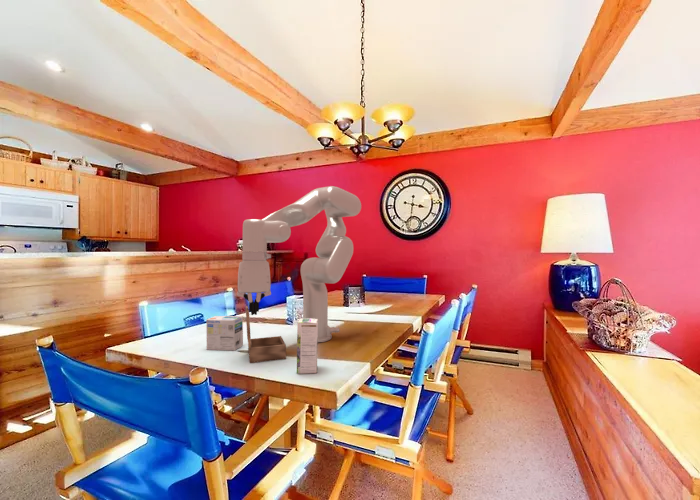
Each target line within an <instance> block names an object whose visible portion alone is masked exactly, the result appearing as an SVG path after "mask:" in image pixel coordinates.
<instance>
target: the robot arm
mask: <svg viewBox="0 0 700 500" xmlns="http://www.w3.org/2000/svg"><path fill="white" fill-rule="evenodd" d="M361 210H362V203H361V200H360V198H359V197H358V196H357V195H356V194H354V193H351V192H350V191H347V190H345V189H343V188H340V187H338V186H333V185H329V186H323V187H317V188H315V189H312V190H310V192H308V193H306V194H305V195H304V196H302V197H300V198H299V199H297V200H296V201H295V202H293V203H291V204H288V205H286V206H284V207H282V208H281V209H279V210H276V211H274V212H272V213H270V214H269V215H267V216H265V217H264V218H262V219H257V218H251V219H250V218H248V219H244V221H243V223H242V251H241V252H242V257H241V258H242V261H240V262H239V264H238V270H237V271H238V272H237V292H236V296H237V297H238V298H239V297H241V298H244V299H245V300H247V302H248V310H249V313H250V314H251V316H253V315H255V316H256V315H258V313H257V312H259V311H260V303H261V301H262V300H263V298H265V297H268V296H271V295H272V292H271V270H270V263H269V262H270V261H267V260H269V259H272V254H271V253H268V251H267V250H268V248H267V247H268V246H267V245H268V244H269V243H273V244H274V243H275V244H276V243H279V244H280V243H284V242H286V241H287V240H289V238H290V237H291V233H292V231H291V228H292V227H297V226H301V225H303V224H306V223H308V222H309V221H310V220H312V219H313V218H314V217H316V216H317V215H318V214H319V213H321V212H322V211H324V213H325V217H326V222H327V223H326V225H327V226H326V227H325V230H324V232H323V233H322V235H321V237H320V239H318V240H319V241H318V242H317V244H316V247H315V254H316V256H317V257H309V258H306V259H305V260H303V262H301V263H302V264H301V265H300V276H301V281H302V294H303V295H302V297H303V298H302V301H303V302H302V303H303V304H302V313H303V314H302V319H303V318H313V319H318V343H325V342H328V341H330V340H331V339H332V334H333V333H335V334H336V333H340V332H341V330H340V327H339V326H338V327H335V326H331V327H330V326H329V325H328V319H329V317H328V316H329V315H328V314H329V313H328V311H329V310H328V307H329V306H328V303H329V302H328V298H329V297H328V296H329V295H328V289H327V286H326V284H336V283H338V282H339V281H340V280H341V279H342V277H343V275H344V274H345V272H346V269H347V268H348V265H349V263H350V261H351V259H352V257H353V255H354V243H353V240H352V239H351V238H350V237H348V236H346V234H347V227H346V225H345V222H344V220H343V219H344V218H346V217H347V218H349V217H355V216H358V214H360V212H361ZM254 293H256V296H255V298H254V300H253V294H254Z"/></svg>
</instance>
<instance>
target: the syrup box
mask: <svg viewBox="0 0 700 500" xmlns="http://www.w3.org/2000/svg"><path fill="white" fill-rule="evenodd" d="M296 327H297V328H296V329H297V333H296V335H297V336H296V337H297V338H296V339H297V341H296V374H297V375H298V374H300V375H301V374H302V375H303V374H316V373H317V372H318V348H319V347H318V343H319V342H318V319H313V318H303V317H302V318H299V320H298V322H297V326H296Z"/></svg>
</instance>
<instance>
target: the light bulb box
mask: <svg viewBox="0 0 700 500" xmlns="http://www.w3.org/2000/svg"><path fill="white" fill-rule="evenodd" d="M243 319H244V318H243V315H240V316H238V315H237V316H236V315H234V316H233V315H214V316H212V317H209V318H207V319H206V350H207V351H208V350H209V351H212V350H213V351H236V350H238V349H240V347H242V346H244V331H243V330H244V327H243V326H244V324H243V323H244V322H243V321H244V320H243Z"/></svg>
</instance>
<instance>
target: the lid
mask: <svg viewBox="0 0 700 500" xmlns="http://www.w3.org/2000/svg"><path fill="white" fill-rule="evenodd" d="M245 320H246V335H247V336H246V337H247V339H246V340H247V346H248V345H249V348H250V347H251V339H252V338H251V322H250V321H251V320H250V312H249V306H248V305H245Z"/></svg>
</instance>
